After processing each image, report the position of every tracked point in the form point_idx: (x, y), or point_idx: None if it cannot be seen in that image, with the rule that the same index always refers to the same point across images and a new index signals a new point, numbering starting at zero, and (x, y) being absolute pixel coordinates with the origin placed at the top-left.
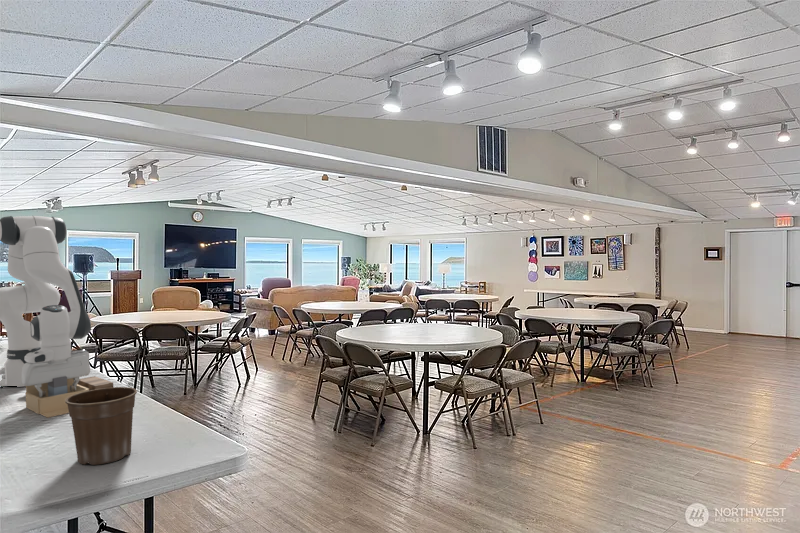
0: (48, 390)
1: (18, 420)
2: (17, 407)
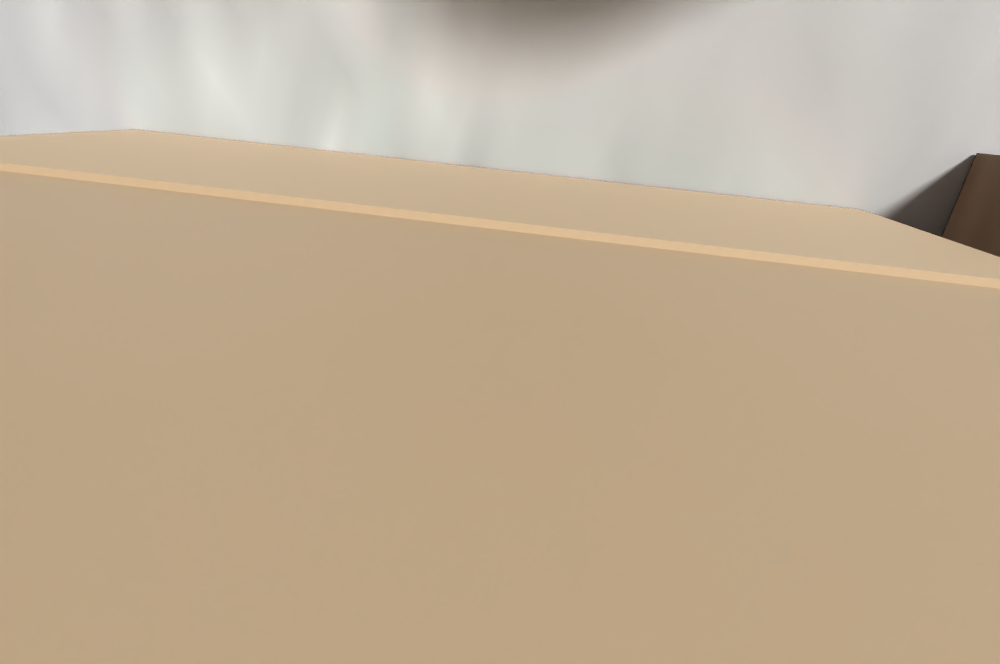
0: None
1: None
2: (16, 4)
